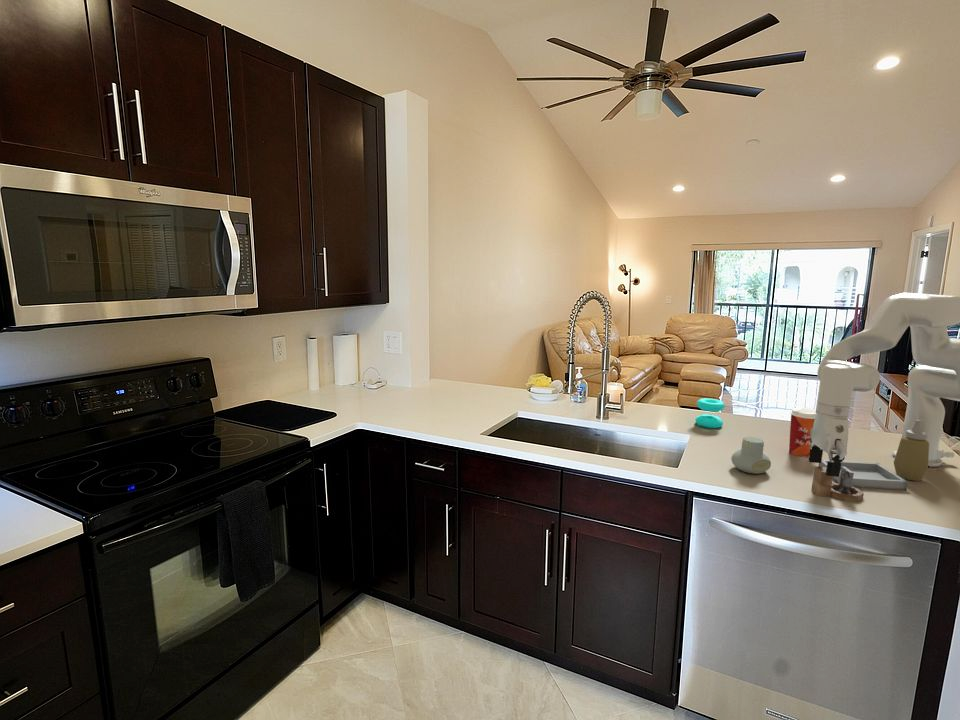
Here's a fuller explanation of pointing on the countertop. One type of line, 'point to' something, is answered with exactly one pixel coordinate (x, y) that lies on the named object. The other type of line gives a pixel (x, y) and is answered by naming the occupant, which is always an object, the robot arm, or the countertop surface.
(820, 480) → the tabbed ring
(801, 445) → the coffee cup
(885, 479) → the tray
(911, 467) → the squeeze bottle
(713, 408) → the donuts
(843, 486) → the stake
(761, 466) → the air freshener
